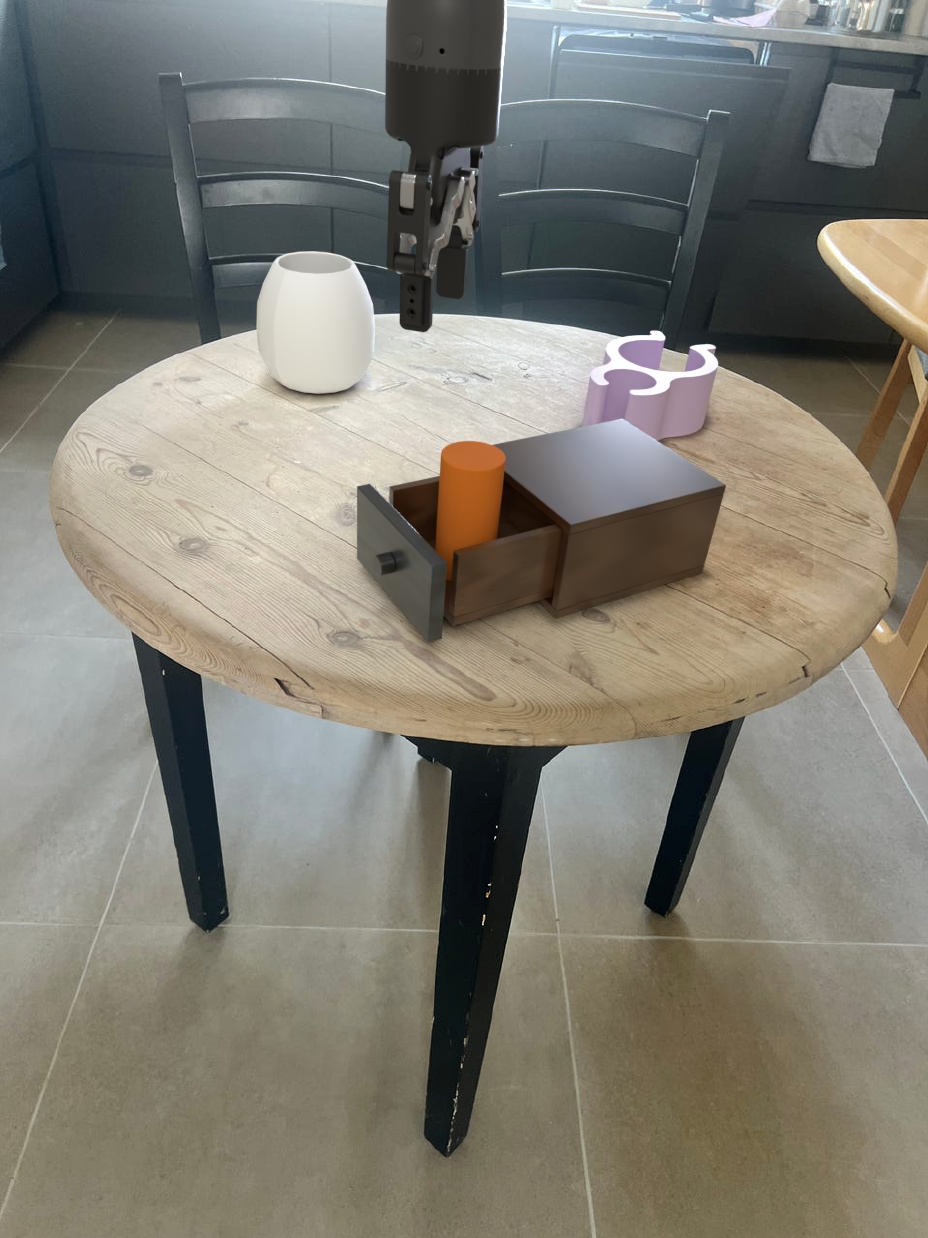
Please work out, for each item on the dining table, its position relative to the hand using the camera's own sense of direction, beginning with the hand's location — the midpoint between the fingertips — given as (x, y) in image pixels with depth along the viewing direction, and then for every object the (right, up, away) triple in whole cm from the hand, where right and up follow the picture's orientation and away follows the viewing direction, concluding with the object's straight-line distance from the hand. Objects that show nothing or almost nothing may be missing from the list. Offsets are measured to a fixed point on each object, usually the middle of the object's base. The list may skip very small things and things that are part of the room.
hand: (434, 311), depth 67 cm
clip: (+22, 0, +36) cm, 42 cm away
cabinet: (+13, -17, +12) cm, 25 cm away
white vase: (-15, +5, +39) cm, 42 cm away
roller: (+2, -19, +6) cm, 20 cm away
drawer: (+2, -20, +6) cm, 21 cm away
